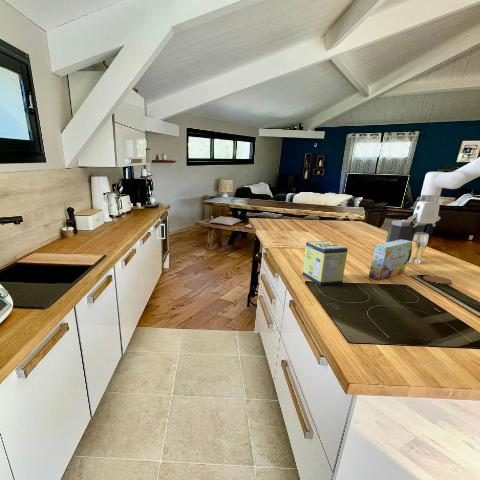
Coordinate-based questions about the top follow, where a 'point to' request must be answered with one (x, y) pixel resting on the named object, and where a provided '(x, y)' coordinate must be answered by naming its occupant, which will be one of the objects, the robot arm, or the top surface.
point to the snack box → (390, 259)
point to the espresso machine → (402, 231)
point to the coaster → (437, 280)
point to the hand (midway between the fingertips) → (419, 234)
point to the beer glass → (417, 247)
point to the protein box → (324, 262)
